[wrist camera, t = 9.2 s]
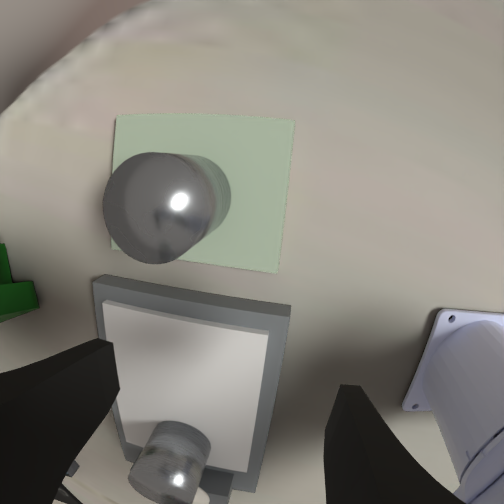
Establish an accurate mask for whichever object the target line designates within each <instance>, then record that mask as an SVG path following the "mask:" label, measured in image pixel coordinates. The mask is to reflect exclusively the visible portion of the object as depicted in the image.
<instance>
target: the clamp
mask: <svg viewBox="0 0 504 504" xmlns="http://www.w3.org/2000/svg"><path fill="white" fill-rule="evenodd" d="M38 308H39V305H38V301H37V297H36V293H35V289H34V284H33V282H32V281H27V282H19V283H12V279H11V274H10V269H9V263H8V258H7V251H6V247H5V244H0V322H3V321H6V320H8V319H11V318H14V317H17V316H19V315H22V314H25V313H28V312H30V311H33V310H36V309H38Z"/></svg>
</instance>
